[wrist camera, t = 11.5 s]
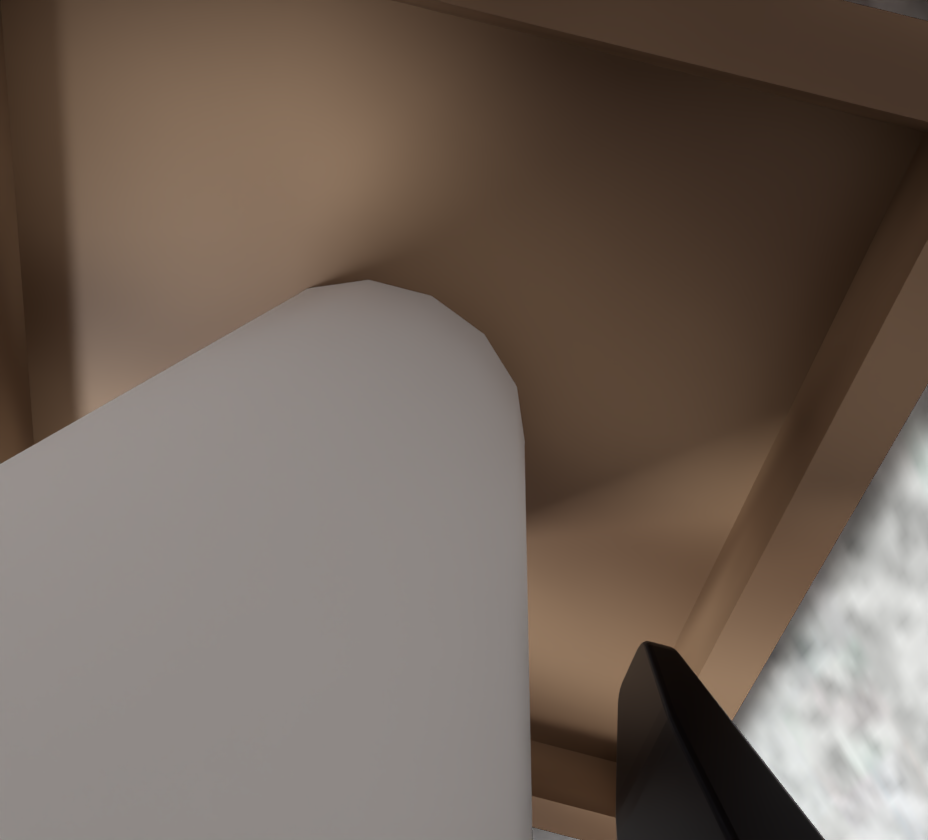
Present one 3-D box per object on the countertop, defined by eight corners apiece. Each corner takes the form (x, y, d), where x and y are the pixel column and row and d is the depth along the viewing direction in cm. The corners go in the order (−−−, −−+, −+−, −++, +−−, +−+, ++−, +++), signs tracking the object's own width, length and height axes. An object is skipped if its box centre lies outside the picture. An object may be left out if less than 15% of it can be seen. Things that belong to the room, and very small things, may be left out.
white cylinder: (171, 491, 14) (-533, 1197, 5) (259, 186, 11) (-1053, 522, 2) (460, 617, 14) (308, 1468, 5) (616, 356, 12) (850, 1234, 3)
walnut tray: (641, 777, 17) (652, 858, 15) (27, 617, 17) (-36, 678, 15) (1007, 74, 10) (1112, 66, 8) (-47, -185, 10) (-181, -251, 8)
